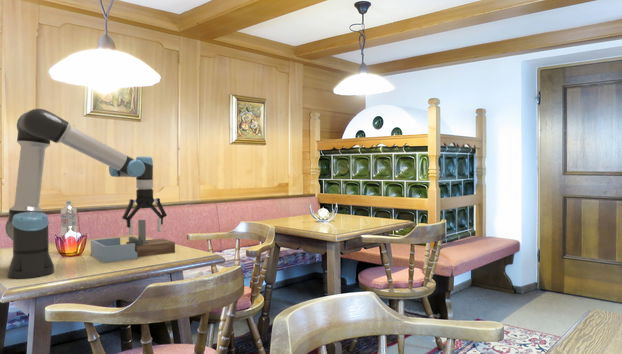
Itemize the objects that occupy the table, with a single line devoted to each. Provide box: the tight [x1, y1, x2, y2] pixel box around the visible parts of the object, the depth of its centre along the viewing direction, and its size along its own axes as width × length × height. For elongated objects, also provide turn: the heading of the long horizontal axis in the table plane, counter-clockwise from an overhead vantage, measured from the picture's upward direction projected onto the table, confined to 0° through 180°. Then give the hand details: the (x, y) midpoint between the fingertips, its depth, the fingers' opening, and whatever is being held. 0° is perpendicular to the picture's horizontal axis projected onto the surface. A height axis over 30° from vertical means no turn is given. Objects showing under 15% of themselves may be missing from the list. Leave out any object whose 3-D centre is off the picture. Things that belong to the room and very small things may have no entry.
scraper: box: [128, 219, 148, 246], centre depth 212 cm, size 15×6×11 cm, turn 38°
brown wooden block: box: [125, 238, 176, 258], centre depth 216 cm, size 16×18×5 cm
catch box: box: [90, 237, 138, 264], centre depth 205 cm, size 24×14×7 cm, turn 38°
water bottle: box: [60, 200, 78, 236], centre depth 215 cm, size 7×7×25 cm
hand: (145, 232), depth 214 cm, fingers open, 13 cm apart
